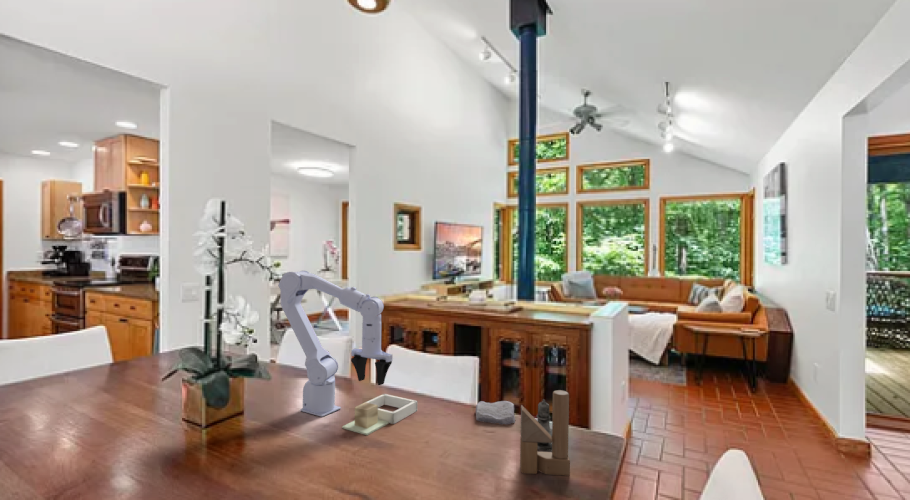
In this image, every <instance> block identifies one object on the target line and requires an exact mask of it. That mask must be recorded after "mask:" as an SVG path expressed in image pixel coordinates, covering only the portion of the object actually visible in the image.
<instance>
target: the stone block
mask: <svg viewBox="0 0 910 500" xmlns="http://www.w3.org/2000/svg"><path fill="white" fill-rule="evenodd" d="M475 418H476V421H478V422H483V423H491V424H496V423H499V424H498V425H503V424H505V425H512V424H511V423H514V424H516V421H515V420H516V417H515V404H514V403H513V402H511V401H510V400H508V401H507V400H501V401H495V402H485V401H483V400H480V401H478V402H477V403H476V405H475Z"/></svg>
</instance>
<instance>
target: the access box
mask: <svg viewBox="0 0 910 500" xmlns="http://www.w3.org/2000/svg"><path fill="white" fill-rule="evenodd" d="M365 402H366V403H370V404H375V405H378V419H379V420H383V421H387V422H388V424H391V425H394V424H397V423H398V422H400V421H402V420H403V419H405V418H407V417H409V416H410V415H412V414H414V413H416V412H418V400H415V399H410V398H405V397H401V396H397V395H392V394H387V393H383V394H381V395H378V396H376V397H374V398H372V399H370V400H368V401H365ZM361 404H362V403H361ZM361 404H359V405H361ZM384 405H385V406H390V407H394V408H398V409H396V410H393V411H391V410H387V409H382V408H380V407H382V406H384Z"/></svg>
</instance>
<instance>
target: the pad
mask: <svg viewBox="0 0 910 500" xmlns="http://www.w3.org/2000/svg"><path fill="white" fill-rule="evenodd" d="M387 425H389V423H388V422H387V421H383V420H379V419H378V423H376V424H374V425H373V426H371V427H369V428H363V427H360V426H356V425H355V419H353V420H352V421H350V422H349V423H346V424H344V425H342V427H341V428H342V429H344V430H347V431H351V432H354V433H358V434H360V435H365V436H369V435H371V434H373V433H374V432H376V431H378V430H379V429H382V428H383V427H385V426H387Z"/></svg>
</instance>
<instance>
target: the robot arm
mask: <svg viewBox="0 0 910 500" xmlns="http://www.w3.org/2000/svg"><path fill="white" fill-rule="evenodd" d="M277 286H278V289H279V291H280V306H281V309H282V310H283V313H284V315H285V317H286V319H287V320H288V321H287V322H288V323H289V325H290V328H291V329H292V331H293V333H294V335H295V337H296V339H297V341H298V343H299V344H300V347H301V349H302V351H303V353H304V355H305V360H304V366H305V368H306V376H307V379H308V380H307V381H306V382H304V383H305V384H304V385H303V389H302V408H300V410H299V411H300V412H303V413H307V414H311V415H315V416H318V417H325V416H327V415H330V414H332V413H334V412H336V411H338V410H340V409H342V408H341V406H338V405H336V404H335V403H336V378H335V375H336V374H337V373H338V370H339V363H338V360H336V358H334V357H333V356H332V355H331V353H330V352H329V351H328V349H325V348H324V346H322V343H321V341H320V340H319V337H318V335H317V334H316V332H315V329H314V327H313V326H312V324H311V321H310V320H309V317H308V315H307V313H306V311H305V310H304V307H303V305H302V301H303V298H304V296H305V295H306V293H307V292H308V291H309V290H317V291H319V292H321V293H325V294H327V295H329V296H332V297H334V298H337V299H338V301H339V303H340V304H341V305H343V306H345V307H347V308H350V309H351V310H353V311H355V312H357V313H360V315H361V316H362V323H361V324H362V329H361V348H352V349H351V353H350V355H351V357H352V358H351V359H350V361H351V364H352V365H353V366H354V369H355V372H356V377H357V380H358V382H361V381H364V380H365V378H366V366H367V362H368V359H372V360H378V361H376V362H374V365H375V368H376V369H375V370H376V375H377V379H376V381H377V386H382V385H384V384H385V379H386V378H387V373H388V371H389V369H390V367H391V365H392V363H393V353H388V352H385V351H383V350H382V312H383V310H384V307H385V305H384V302H383V301H382V299H380V298H379V297H378V296H371V294H370V293H364V292H362V291H360V290H357V289H358V288H357V287H355V286H351V287H350V286H347V287H345V288H343V287H341V286H339V285H336V284H335V283H333V282H331V281H329V280H327V279H325V278H323V277H321V276H319V275H318V274H316V273H312V272H310V271H307V270H300V271H287V272H285V273H284V274H283V275H282V276H281V278H280V281H279V282H278V284H277Z"/></svg>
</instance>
